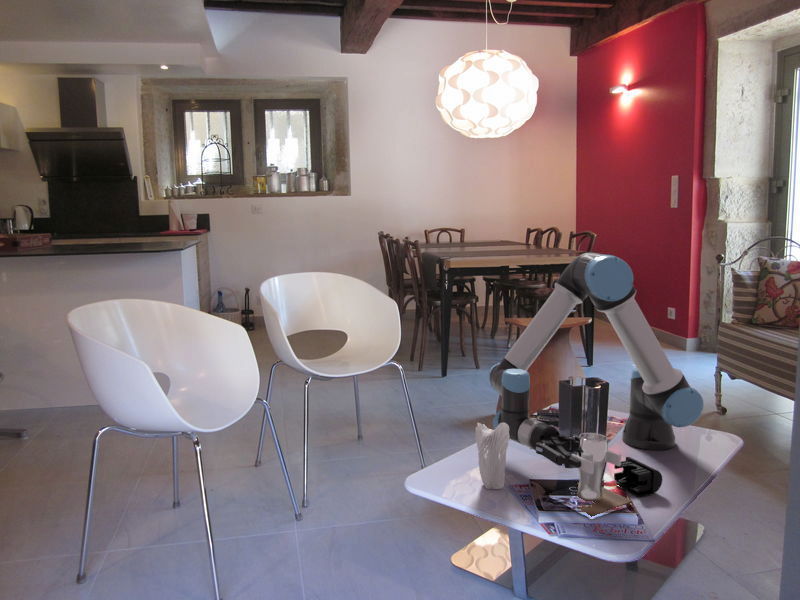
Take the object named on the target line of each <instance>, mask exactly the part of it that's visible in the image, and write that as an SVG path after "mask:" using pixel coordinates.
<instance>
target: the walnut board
mask: <svg viewBox="0 0 800 600" xmlns="http://www.w3.org/2000/svg"><path fill="white" fill-rule="evenodd" d="M602 493H603V499H602V500H600V501H596V502H594V503H595V504H594V503H592V507H591V506H590V505H589V506H588V507H585V506H583V505H582V507H579V509H581V510H582V511H584V512H586V513H587V514H588V515H590V516H591V517H592V516H595V515H597V514H600V513H603V512H605V511H608V510H610V509H613V508H616V507H619V506H622V505H625V504H628V503H632V504H633V500H631V499H629V498H628V497H625V496H623V495H620V494H618V493H616V492H614V491H612V490H610V489H607V488H605V487H603V486H602Z"/></svg>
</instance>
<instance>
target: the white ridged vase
mask: <svg viewBox="0 0 800 600" xmlns="http://www.w3.org/2000/svg"><path fill="white" fill-rule="evenodd" d="M476 424H477V426H476V427H475V430H474V431H475V435H474V436H475V441H476V447H477V450H478V467H479V468H478V469H479V473H480V478H481V481H482V484H483V486H484V488H486V490H501V489H504V486H505V479H506V474H505V473H506V461H507V450H508V447H509V441H510V439H509V438H510V436H509V426H508V425H507V424H506V423H500V424H499V425H498V426H497V428H496V429H492V428H491V429H490V428H488V427H487V426H486V425H485V423H483V424H482V423H480V422H477V423H476Z"/></svg>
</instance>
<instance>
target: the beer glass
mask: <svg viewBox="0 0 800 600" xmlns="http://www.w3.org/2000/svg"><path fill="white" fill-rule="evenodd" d="M578 436H579V444H578V452H577V456H580V457H582V458H584V459H587V460H589V461H592V462H594V474H589V473H587V472H585V471H583V470H580V469H578V475H579V482H578V484H579V488H578V491H577V496H578V497H579V498H581V499H583V500H586V501H593V502H595V501H600V500H602V499H603V493H602V487H603V479H604V475H605V471H606V467H607V463H608V462H607V456H608V450H609V446H608V445H609V443H608V437H607V436H606V435H603V434H600V433H598V432H597V433H596V432H582V433H580V434H579V435H578Z"/></svg>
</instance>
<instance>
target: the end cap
mask: <svg viewBox="0 0 800 600" xmlns="http://www.w3.org/2000/svg"><path fill="white" fill-rule="evenodd" d="M617 469H618V470H619V469H623V470H621V471H618V472H614V474H613V479H614V484H615V483H616V484H617V485H619V486H620V487H622V488H623V489H624V490H623V489H622V488H621V489H622V490H623V491H625V492H627V493H629V494H630V495H633V496H634V497H636V498H640V499H641V498H645V497H650V496H652V495H654V494H655V493H657V492H658V491H659V489H661V486H662V485H663V475H662V473H661V472H660V471H659V470H657V469H655V468H653V467H651V466H649V465H647V464H646V463H643V462H641V461H639V460H637V459H635V458H633V457H631V456H625V460H624V461H622V460H621V466H616V465H614V470H617ZM620 487H619V488H620Z"/></svg>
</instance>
